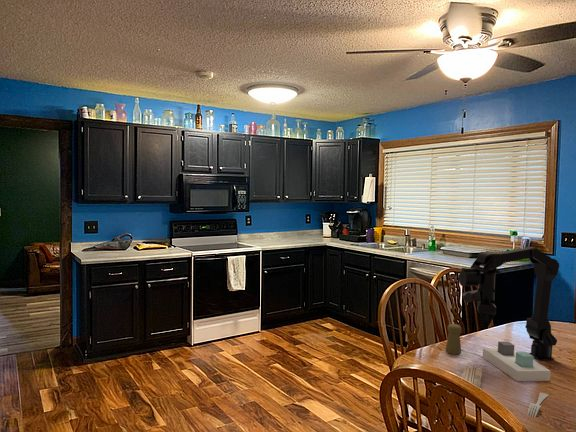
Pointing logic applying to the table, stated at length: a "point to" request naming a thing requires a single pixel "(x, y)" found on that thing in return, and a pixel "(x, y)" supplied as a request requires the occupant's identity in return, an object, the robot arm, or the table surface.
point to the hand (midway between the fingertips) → (485, 325)
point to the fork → (537, 404)
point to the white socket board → (516, 366)
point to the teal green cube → (524, 359)
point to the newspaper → (472, 375)
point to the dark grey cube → (506, 348)
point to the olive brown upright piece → (453, 339)
